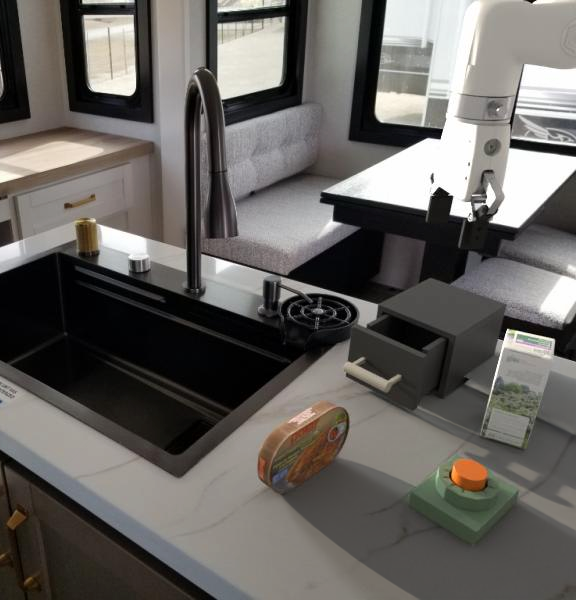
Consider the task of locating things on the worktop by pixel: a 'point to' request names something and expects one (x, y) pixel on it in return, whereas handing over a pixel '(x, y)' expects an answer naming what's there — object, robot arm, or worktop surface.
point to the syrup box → (517, 388)
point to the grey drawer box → (451, 325)
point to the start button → (469, 475)
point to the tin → (302, 446)
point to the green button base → (462, 503)
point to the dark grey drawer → (396, 359)
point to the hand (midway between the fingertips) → (452, 234)
